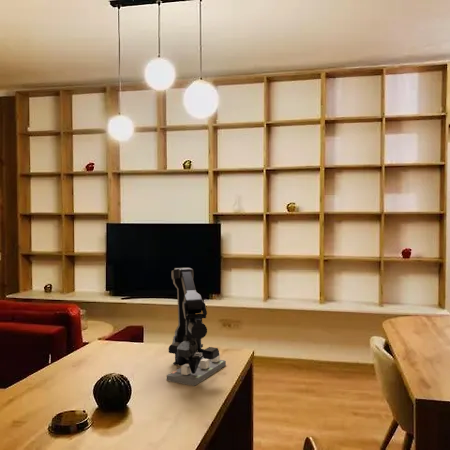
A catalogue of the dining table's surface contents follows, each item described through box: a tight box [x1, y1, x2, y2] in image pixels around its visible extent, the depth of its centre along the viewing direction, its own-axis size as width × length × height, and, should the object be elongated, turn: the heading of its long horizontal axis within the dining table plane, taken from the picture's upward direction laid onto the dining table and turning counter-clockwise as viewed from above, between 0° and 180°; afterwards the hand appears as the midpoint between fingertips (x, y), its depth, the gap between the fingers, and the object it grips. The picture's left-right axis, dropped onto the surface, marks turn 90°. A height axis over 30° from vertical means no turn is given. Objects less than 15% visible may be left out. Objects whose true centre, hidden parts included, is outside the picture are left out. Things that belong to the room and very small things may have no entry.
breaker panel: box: [166, 357, 227, 387], centre depth 191 cm, size 12×25×2 cm, turn 153°
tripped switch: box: [180, 364, 191, 375], centre depth 183 cm, size 2×3×3 cm
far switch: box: [211, 352, 221, 362], centre depth 198 cm, size 2×3×3 cm
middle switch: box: [200, 359, 209, 369], centre depth 190 cm, size 2×3×3 cm
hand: (193, 373), depth 182 cm, fingers closed
